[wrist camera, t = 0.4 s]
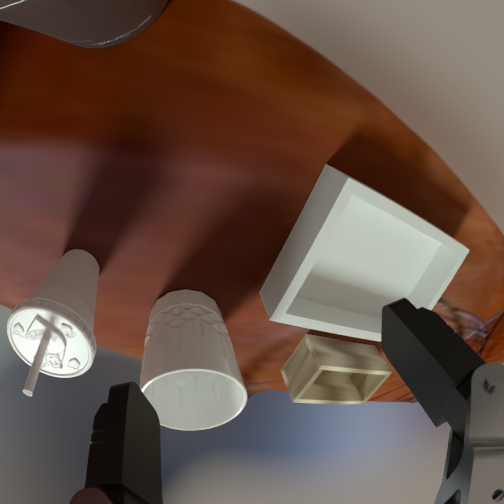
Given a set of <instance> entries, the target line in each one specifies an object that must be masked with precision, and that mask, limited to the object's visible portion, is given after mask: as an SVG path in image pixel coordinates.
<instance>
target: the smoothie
mask: <svg viewBox="0 0 504 504" xmlns="http://www.w3.org/2000/svg"><path fill="white" fill-rule="evenodd" d="M98 279H99V265H98V263H97V261H96V259H95V258H94V257H93V256H92V255H91V254H90V253H88V252H86V251H84V250H80V249H73V250H70V251H68V252H66V253H65V254H64V255H63V256H62V258H61V259H60V260H59V261H58V262H57V263H56V264H55V266H54V267H53V268H52V269H51V270H50V271H49V272H48V274H47V275H46V276H45V277H44V278H43V279H42V281H41V282H40V283H39V284H38V285H37V287H36V288H35V289H34V290H33V292H32V293H31V294H30V295H29V296H28V298H26V299H25V300H23V301H21V302H19V303H18V304H17V305H16V306H15V307H14V309H13V311H12V314H11V316H10V318H9V320H8V323H7V334H8V338H9V341H10V343H11V345H12V347H13V348H14V350H15V351H16V353H17V354H18V355H19V356H20V358H22V359H23V360H24V361H25V362H26V363H27V364H28V365H30V366H31V369H30V372H29V375H28V378H27V381H26V384H25V387H24V390H23V392H24V393H25V394H26V395H28V396H32V394H33V390H34V387H35V383H36V380H37V377H38V374H39V371H40V372H42V373H45V374H47V375H51V376H55V377H63V378H67V377H75V376H78V375H81V374H83V373H84V372H86V371H87V370H88V369H89V368H90V366H91V365H92V362H93V358H94V356H95V352H96V347H97V346H96V339H95V336H94V334H93V328H94V315H95V305H96V295H97V287H98Z"/></svg>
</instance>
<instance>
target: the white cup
mask: <svg viewBox="0 0 504 504" xmlns="http://www.w3.org/2000/svg"><path fill="white" fill-rule="evenodd" d="M139 388H140V389H141V391H142V392H143V394H144V395H145V396H146V398H147V399H148V400H149V402H150V403H151V405H152V406H153V407H154V409H155V410H156V412H157V415H158V418H159V421H160V425H163V426H165V427H168V428H173V429H178V430H202V429H208V428H213V427H216V426H219V425H222V424H224V423H226V422H228V421H230V420H231V419H233V418H234V417H236V416H237V415H238V414H239V413H240V412H241V411H242V410H243V408H244V407H245V404H246V402H247V392H246V388H245V385H244V382H243V379H242V376H241V373H240V369H239V366H238V363H237V360H236V356H235V353H234V349H233V346H232V343H231V340H230V338H229V334H228V331H227V328H226V326H225V324H224V321H223V317H222V314H221V311H220V309H219V308H218V306H217V304H216V302H215V300H213V299H212V298H210V297H209V296H207V295H206V294H204V293H203V292H199V291H193V290H188V289H183V290H178V291H173V292H169V293H167V294H166V295H164V296H163V297H161V298H160V299H158V300H157V301H156V303H155V304H154V306H153V308H152V310H151V312H150V316H149V324H148V329H147V333H146V338H145V346H144V350H143V358H142V368H141V378H140V387H139Z"/></svg>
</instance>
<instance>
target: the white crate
mask: <svg viewBox="0 0 504 504" xmlns="http://www.w3.org/2000/svg"><path fill="white" fill-rule="evenodd" d="M468 252H469V249H468V248H466V247H465V246H464V245H462V244H461V243H460V242H458V241H457V240H455V239H454V238H453V237H451V236H450V235H448V234H447V233H445V232H444V231H442V230H441V229H439V228H438V227H436V226H435V225H433V224H431V223H430V222H428V221H427V220H425V219H424V218H422V217H420V216H419V215H417V214H415V213H414V212H412V211H410V210H409V209H407V208H405V207H404V206H402V205H400V204H399V203H397V202H395V201H394V200H392V199H390V198H388V197H387V196H385V195H383V194H381V193H380V192H378V191H376V190H374V189H373V188H371V187H369V186H367V185H365V184H363V183H362V182H360V181H358V180H356V179H354V178H352V177H350V176H349V175H347V174H345V173H343V172H341V171H339V170H337V169H335V168H333V167H331V166H329V165H327V164H325V166H324V168H323V170H322V172H321V174H320V176H319V178H318V180H317V182H316V184H315V186H314V188H313V190H312V192H311V194H310V196H309V198H308V200H307V202H306V204H305V206H304V208H303V210H302V211H301V213H300V215H299V217H298V219H297V221H296V223H295V225H294V227H293V229H292V231H291V233H290V235H289V237H288V238H287V240H286V242H285V244H284V246H283V248H282V250H281V252H280V254H279V256H278V257H277V259H276V261H275V263H274V265H273V267H272V269H271V271H270V273H269V274H268V276H267V278H266V280H265V282H264V284H263V286H262V288H261V289H260V291H259V294H260V297H261V300H262V302H263V305H264V307H265V310H266V313H267V315H268V318H269V320H271V321H276V322H280V323H285V324H290V325H294V326H299V327H304V328H309V329H314V330H319V331H324V332H329V333H334V334H340V335H345V336H350V337H356V338H362V339H367V340H373V341H379V342H381V328H382V308H383V306H385V305H387V304H390V303H392V302H394V301H397V300H399V299H402V298H406V299H408V300H409V301H410V302H411V303H412V304H413V305H414V306H415V307H416V308H417V309H418V308H421V307H424V308H426V309H429V310H432V308H433V307H434V305H435V304H436V303H437V301H438V300H439V298H440V297H441V295H442V294H443V292H444V291H445V289H446V288H447V286H448V285H449V283H450V281H451V280H452V278H453V277H454V275H455V274H456V272H457V270H458V269H459V267H460V265H461V264H462V262H463V260H464V259H465V257H466V255H467V254H468Z"/></svg>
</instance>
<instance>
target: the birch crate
mask: <svg viewBox="0 0 504 504" xmlns="http://www.w3.org/2000/svg"><path fill="white" fill-rule="evenodd" d="M281 373H282V376H283V378H284V381H285V384H286V387H287V389H288V392H289V395H290V397H291V400H292V402H299V403H300V402H301V403H322V404H325V403H326V404H364V403H365V402H366V401H367V400H368V399H369V398H370V397H371V396H372V395H373V394H374V392H375V391H376V390H377V389H378V388H379V387H380V386H381V385H382V384H383V382H384V381H385V380H386V379H387V378H388V377H389V375H390V374H391V373H392V370H391V369H390V367H389V366H388V364H387V363H386V361H385V360H384V358H383V357H382V355H381V354H380V352H379V351H378V349H377V348H376V346H374V345H368V344H361V343H355V342H349V341H344V340H338V339H332V338H327V337H321V336H316V335H310V334H305V336H304V337H303V339H302V340H301V342H300V343H299V345H298V346H297V348H296V349H295V351H294V352H293V354H292V355H291V356H290V358H289V359H288V361H287V362H286V364H285V365H284V366H283V368H282V369H281Z"/></svg>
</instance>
